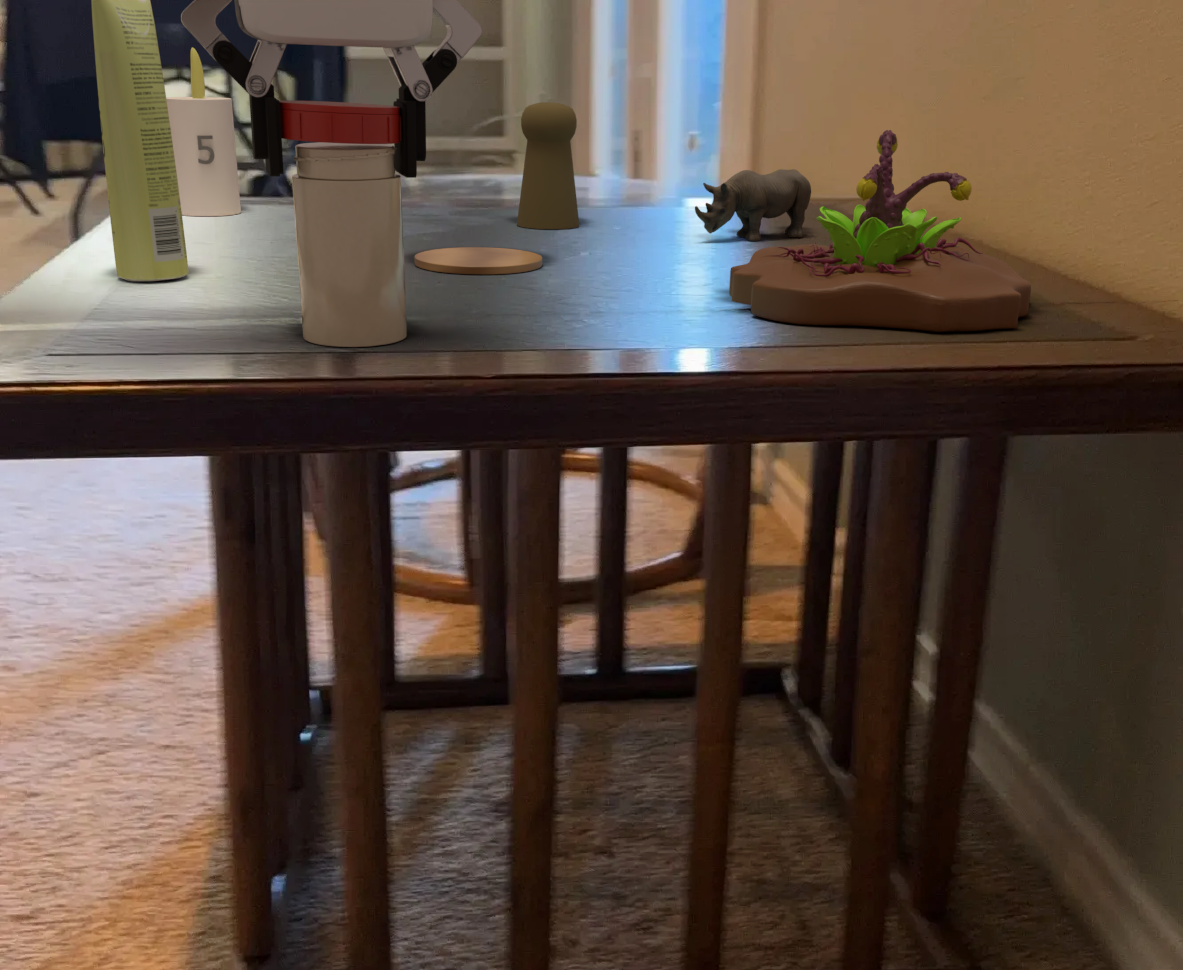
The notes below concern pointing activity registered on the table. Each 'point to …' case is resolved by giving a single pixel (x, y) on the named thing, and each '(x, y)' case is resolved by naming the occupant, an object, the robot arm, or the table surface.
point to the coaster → (478, 260)
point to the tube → (137, 143)
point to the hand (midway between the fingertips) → (340, 171)
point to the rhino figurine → (758, 201)
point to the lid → (340, 122)
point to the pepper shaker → (548, 168)
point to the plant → (884, 268)
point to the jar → (349, 244)
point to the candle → (204, 149)
